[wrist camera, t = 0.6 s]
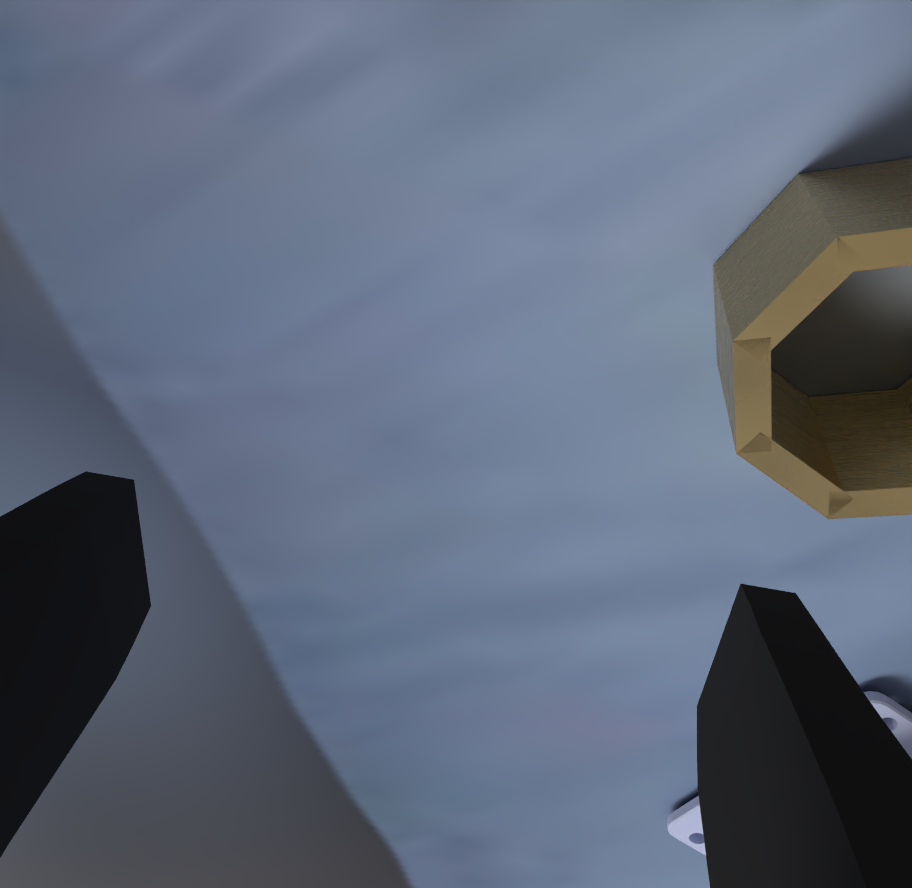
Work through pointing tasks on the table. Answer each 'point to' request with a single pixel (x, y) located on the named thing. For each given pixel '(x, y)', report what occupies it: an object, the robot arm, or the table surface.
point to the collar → (788, 303)
